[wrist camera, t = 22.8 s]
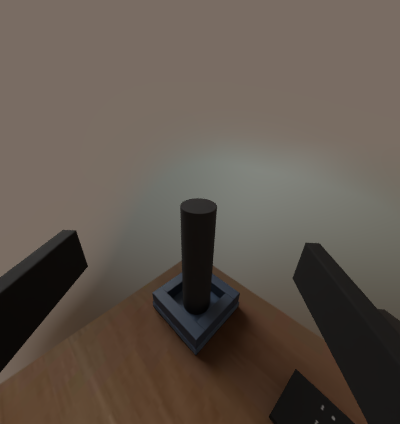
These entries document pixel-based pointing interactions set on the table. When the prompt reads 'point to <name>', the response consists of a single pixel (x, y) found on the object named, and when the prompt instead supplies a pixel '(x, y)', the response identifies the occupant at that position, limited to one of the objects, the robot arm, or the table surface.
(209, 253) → the tall dark cylinder
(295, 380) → the remote control
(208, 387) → the table surface
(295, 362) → the table surface
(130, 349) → the table surface
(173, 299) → the socket pad
